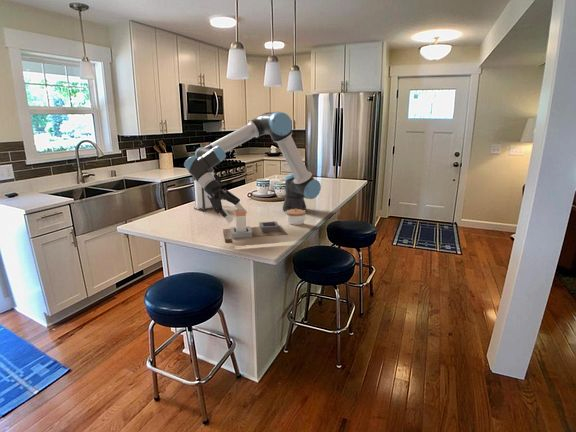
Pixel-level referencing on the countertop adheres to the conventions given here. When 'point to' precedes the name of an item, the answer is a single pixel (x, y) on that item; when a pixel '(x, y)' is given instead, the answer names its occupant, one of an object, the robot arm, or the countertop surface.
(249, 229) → the port
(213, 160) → the robot arm
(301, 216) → the lidded jar
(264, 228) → the frame
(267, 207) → the countertop surface
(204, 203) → the coffee press
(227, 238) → the walnut board
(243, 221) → the plug
